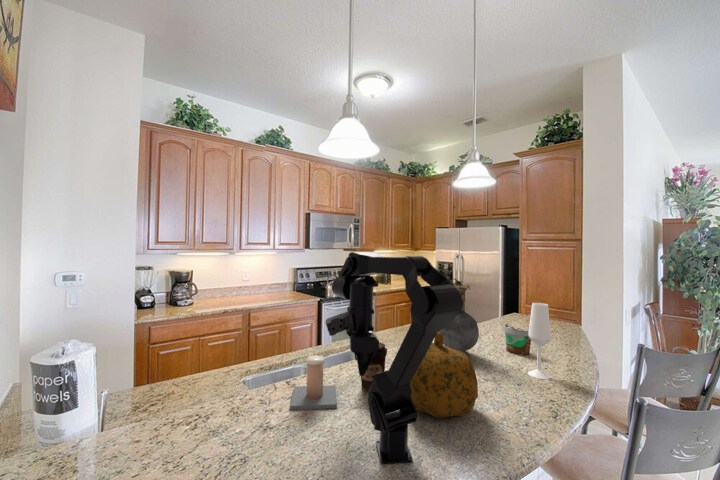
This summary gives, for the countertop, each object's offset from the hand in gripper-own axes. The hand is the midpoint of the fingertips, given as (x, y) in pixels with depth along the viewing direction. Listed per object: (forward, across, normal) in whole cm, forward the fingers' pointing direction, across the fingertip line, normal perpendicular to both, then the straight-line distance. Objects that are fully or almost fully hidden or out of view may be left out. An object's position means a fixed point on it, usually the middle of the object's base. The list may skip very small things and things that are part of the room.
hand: (359, 367), depth 77 cm
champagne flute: (+13, -23, +64) cm, 69 cm away
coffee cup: (+13, -17, +6) cm, 22 cm away
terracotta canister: (+12, -12, -11) cm, 20 cm away
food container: (+13, -45, +69) cm, 83 cm away
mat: (+13, -12, -11) cm, 21 cm away
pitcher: (+13, -46, +44) cm, 65 cm away
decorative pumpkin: (+13, -5, +22) cm, 26 cm away
